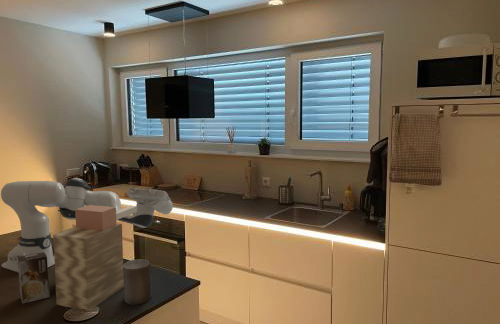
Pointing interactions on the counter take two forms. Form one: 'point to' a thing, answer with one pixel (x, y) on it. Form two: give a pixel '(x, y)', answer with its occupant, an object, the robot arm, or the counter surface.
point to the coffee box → (33, 277)
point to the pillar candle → (137, 281)
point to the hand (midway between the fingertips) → (139, 189)
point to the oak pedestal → (88, 266)
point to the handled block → (100, 216)
